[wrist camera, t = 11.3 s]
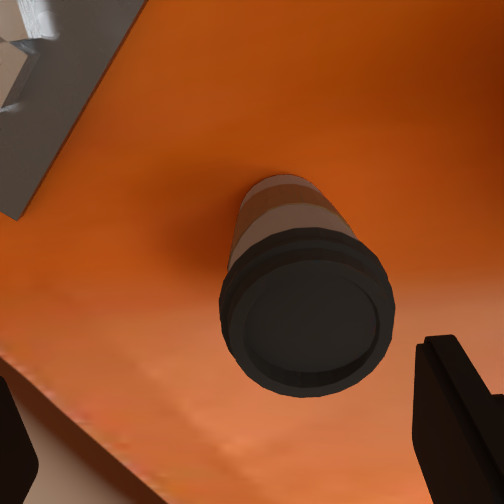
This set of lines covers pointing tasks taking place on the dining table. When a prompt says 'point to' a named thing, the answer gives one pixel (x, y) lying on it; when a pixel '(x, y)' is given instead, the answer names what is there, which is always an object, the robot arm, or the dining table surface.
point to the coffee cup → (302, 293)
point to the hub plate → (50, 81)
